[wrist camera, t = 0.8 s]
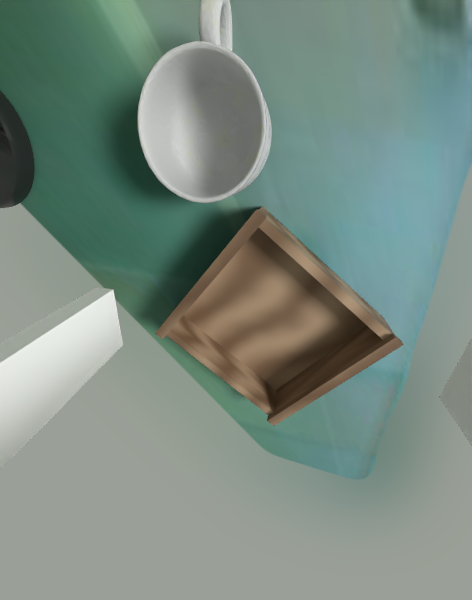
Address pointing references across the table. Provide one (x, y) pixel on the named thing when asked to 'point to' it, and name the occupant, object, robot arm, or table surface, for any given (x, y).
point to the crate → (277, 321)
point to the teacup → (204, 114)
